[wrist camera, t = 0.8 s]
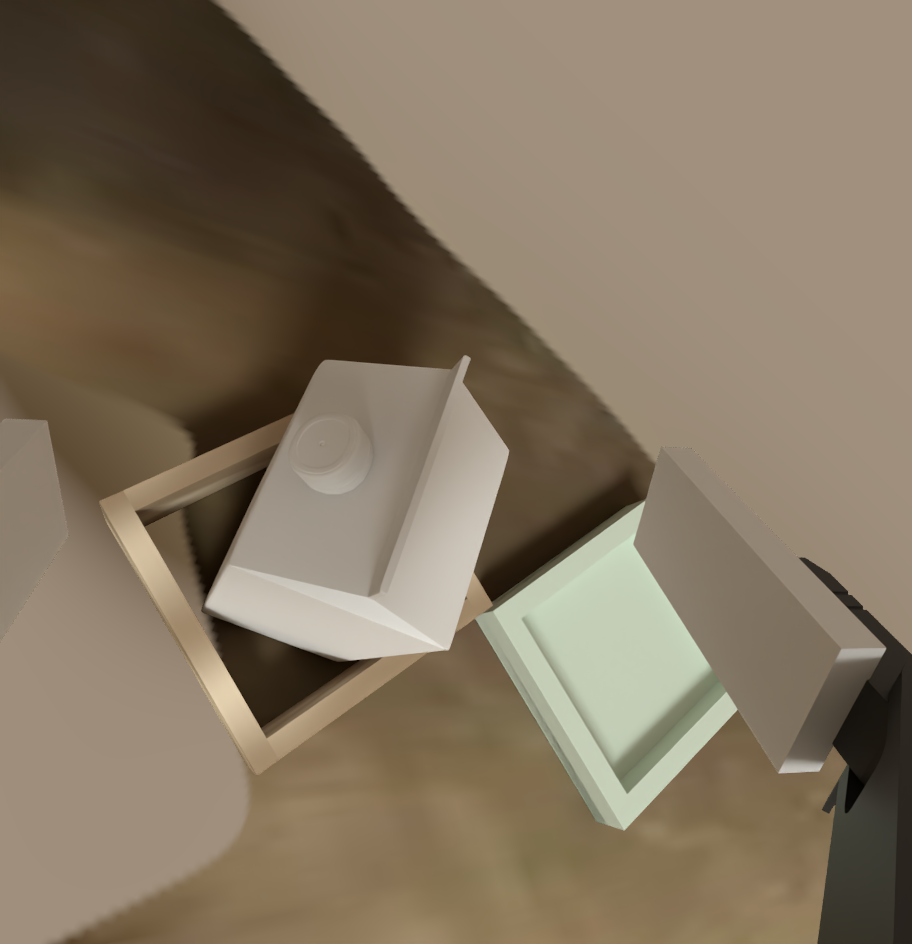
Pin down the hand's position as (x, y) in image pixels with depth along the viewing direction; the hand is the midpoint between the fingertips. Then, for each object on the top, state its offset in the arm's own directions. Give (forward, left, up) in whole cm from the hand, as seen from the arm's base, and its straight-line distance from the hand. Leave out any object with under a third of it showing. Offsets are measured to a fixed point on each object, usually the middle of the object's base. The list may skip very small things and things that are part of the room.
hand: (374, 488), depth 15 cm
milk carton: (0, +2, -21) cm, 21 cm away
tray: (+14, +16, -21) cm, 29 cm away
